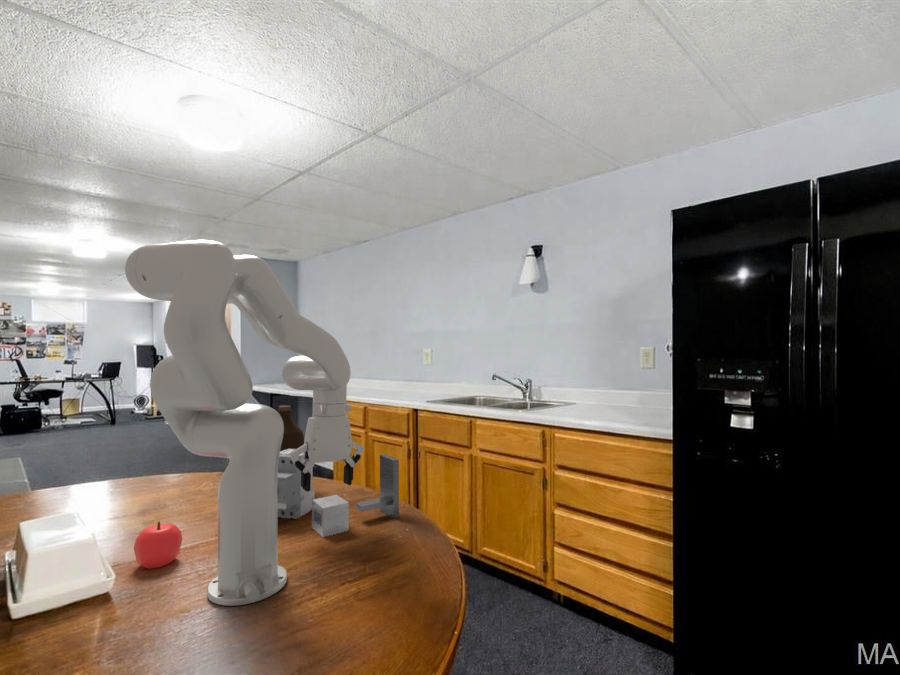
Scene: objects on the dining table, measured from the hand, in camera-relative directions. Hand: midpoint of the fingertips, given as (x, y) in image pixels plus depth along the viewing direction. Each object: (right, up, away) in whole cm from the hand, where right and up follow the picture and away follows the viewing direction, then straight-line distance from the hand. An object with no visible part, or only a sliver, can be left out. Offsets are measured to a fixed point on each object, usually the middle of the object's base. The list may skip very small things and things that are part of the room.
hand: (327, 487), depth 103 cm
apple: (-29, -10, -15) cm, 34 cm away
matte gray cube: (0, -10, +1) cm, 10 cm away
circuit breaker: (-13, -10, +9) cm, 19 cm away
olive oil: (-19, -11, +26) cm, 34 cm away
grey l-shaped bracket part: (+10, -10, +8) cm, 16 cm away
